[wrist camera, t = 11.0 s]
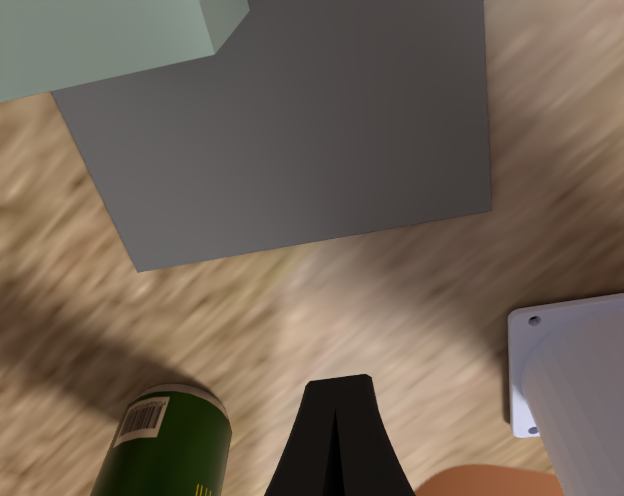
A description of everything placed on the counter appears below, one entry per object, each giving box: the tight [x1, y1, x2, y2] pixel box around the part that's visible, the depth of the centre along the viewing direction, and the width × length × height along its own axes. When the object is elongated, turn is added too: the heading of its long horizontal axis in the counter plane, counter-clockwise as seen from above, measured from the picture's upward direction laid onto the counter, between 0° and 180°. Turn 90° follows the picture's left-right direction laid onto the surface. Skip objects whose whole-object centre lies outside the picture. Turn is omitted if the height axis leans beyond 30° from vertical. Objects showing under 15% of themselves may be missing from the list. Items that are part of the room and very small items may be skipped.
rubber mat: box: [51, 0, 492, 273], centre depth 17 cm, size 14×14×1 cm
